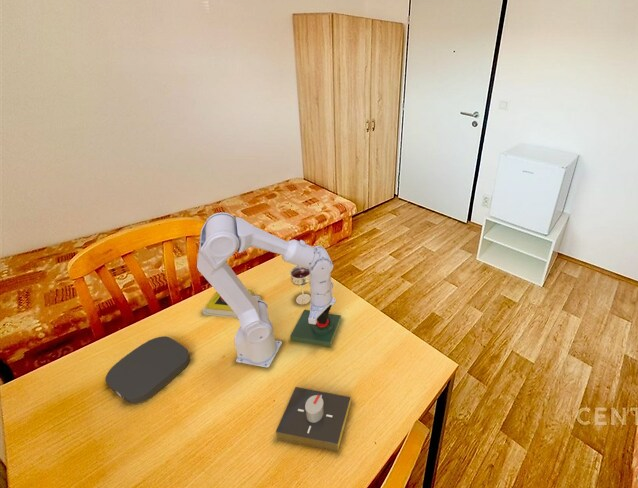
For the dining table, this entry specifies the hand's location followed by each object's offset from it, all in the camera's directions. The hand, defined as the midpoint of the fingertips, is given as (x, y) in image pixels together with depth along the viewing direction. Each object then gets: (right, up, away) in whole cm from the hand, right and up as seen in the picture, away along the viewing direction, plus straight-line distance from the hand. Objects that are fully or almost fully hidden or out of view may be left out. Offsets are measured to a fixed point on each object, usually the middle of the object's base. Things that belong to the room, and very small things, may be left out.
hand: (322, 321), depth 95 cm
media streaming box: (-42, -8, -12) cm, 44 cm away
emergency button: (-31, +2, +8) cm, 33 cm away
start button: (0, -2, +1) cm, 2 cm away
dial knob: (+4, -12, -22) cm, 25 cm away
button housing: (-2, -3, +2) cm, 4 cm away
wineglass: (-10, +2, +13) cm, 16 cm away
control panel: (+3, -15, -20) cm, 25 cm away
